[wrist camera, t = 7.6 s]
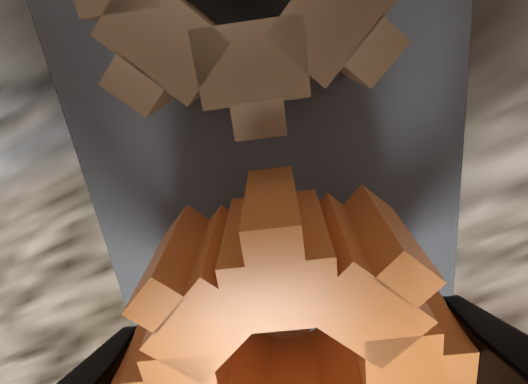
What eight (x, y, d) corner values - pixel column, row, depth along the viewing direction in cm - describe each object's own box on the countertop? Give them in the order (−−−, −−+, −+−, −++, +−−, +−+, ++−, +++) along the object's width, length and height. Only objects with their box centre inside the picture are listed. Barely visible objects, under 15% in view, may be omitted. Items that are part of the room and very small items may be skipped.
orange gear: (415, 376, 11) (465, 490, 8) (185, 396, 11) (157, 510, 9) (422, 150, 9) (495, 203, 6) (124, 185, 9) (59, 251, 6)
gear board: (431, 312, 14) (482, 398, 10) (159, 338, 14) (126, 427, 11) (455, -255, 8) (581, -454, 5) (7, -174, 9) (-152, -303, 5)
